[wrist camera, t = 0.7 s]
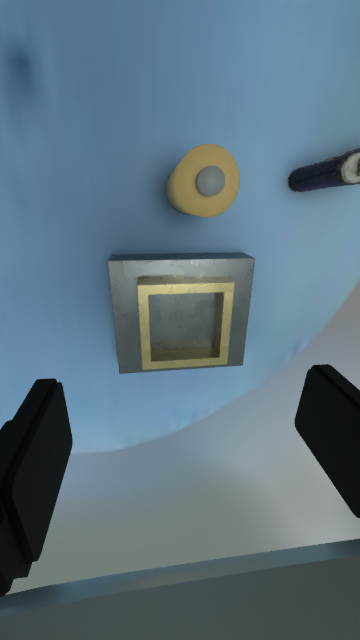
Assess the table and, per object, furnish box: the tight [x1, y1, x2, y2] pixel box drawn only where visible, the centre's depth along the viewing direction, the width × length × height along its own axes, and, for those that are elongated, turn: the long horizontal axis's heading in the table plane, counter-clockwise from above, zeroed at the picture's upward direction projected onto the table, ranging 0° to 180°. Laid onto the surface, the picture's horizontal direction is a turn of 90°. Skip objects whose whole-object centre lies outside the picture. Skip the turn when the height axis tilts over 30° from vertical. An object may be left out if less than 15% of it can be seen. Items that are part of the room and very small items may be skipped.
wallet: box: [288, 148, 360, 192], centre depth 26 cm, size 9×3×11 cm, turn 107°
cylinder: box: [166, 144, 240, 217], centre depth 24 cm, size 5×5×11 cm
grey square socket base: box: [108, 253, 255, 374], centre depth 32 cm, size 14×16×6 cm
